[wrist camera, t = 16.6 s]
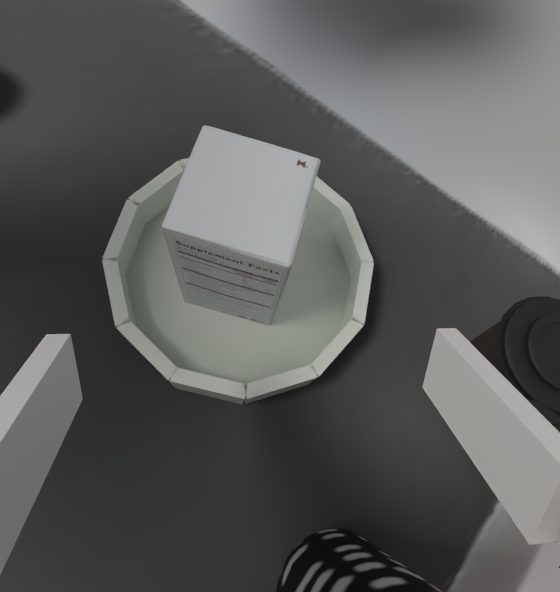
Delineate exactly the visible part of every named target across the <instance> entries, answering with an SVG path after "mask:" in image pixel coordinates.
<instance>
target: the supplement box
mask: <svg viewBox="0 0 560 592" xmlns="http://www.w3.org/2000/svg"><path fill="white" fill-rule="evenodd" d="M320 162H321V161H320V159H318V158H315V157H311V156H308V155H305V154H302V153H299V152H296V151H292V150H289V149H286V148H282V147H279V146H275V145H272V144H269V143H265V142H262V141H258V140H255V139H252V138H248V137H245V136H241V135H238V134H234V133H231V132H228V131H224V130H221V129H218V128H214V127H210V126H203V127H202V129H201V131H200V134H199V136H198V138H197V141H196V143H195V145H194V148H193V150H192V152H191V155H190V157H189V160H188V162H187V164H186V167H185V169H184V172H183V174H182V177H181V179H180V181H179V184H178V186H177V189H176V191H175V193H174V196H173V198H172V201H171V203H170V206H169V208H168V211H167V213H166V216H165V218H164V221H163V223H162V225H161V228H162V230H163V233H164V237H165V241H166V244H167V247H168V250H169V253H170V257H171V260H172V263H173V266H174V270H175V273H176V276H177V279H178V283H179V286H180V289H181V292H182V295H183V298H184V301H185V302H186V303H190V304H194V305H197V306H201V307H204V308H208V309H211V310H215V311H218V312H222V313H225V314H229V315H232V316H236V317H239V318H243V319H246V320H250V321H253V322H257V323H260V324H264V325H267V326H270V325H271V323H272V321H273V318H274V315H275V312H276V309H277V306H278V304H279V301H280V298H281V296H282V293H283V290H284V288H285V285H286V282H287V280H288V277H289V274H290V271H291V267H292V264H293V261H294V257H295V254H296V250H297V247H298V243H299V240H300V236H301V232H302V229H303V225H304V221H305V218H306V214H307V210H308V206H309V202H310V199H311V195H312V191H313V187H314V183H315V180H316V176H317V172H318V169H319V165H320Z"/></svg>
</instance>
